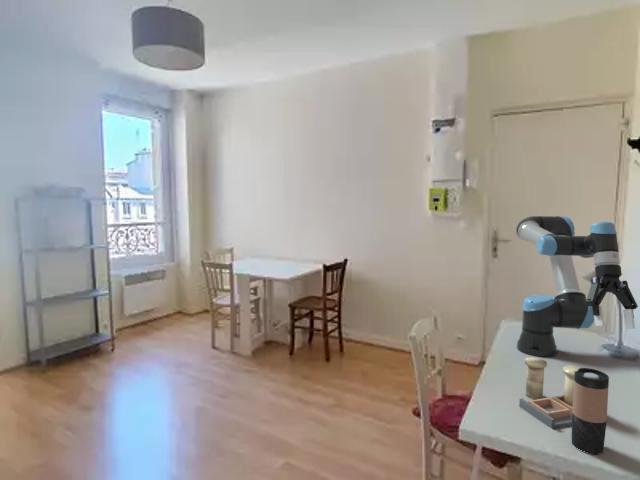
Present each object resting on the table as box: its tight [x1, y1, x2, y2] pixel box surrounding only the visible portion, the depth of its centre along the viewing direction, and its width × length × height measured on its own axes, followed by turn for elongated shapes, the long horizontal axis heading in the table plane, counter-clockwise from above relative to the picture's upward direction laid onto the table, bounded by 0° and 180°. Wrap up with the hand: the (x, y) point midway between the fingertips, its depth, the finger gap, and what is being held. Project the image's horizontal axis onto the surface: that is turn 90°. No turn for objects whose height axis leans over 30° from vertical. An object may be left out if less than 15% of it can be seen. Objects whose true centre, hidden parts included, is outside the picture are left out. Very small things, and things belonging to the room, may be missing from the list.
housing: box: [518, 365, 581, 429], centre depth 127 cm, size 13×19×13 cm
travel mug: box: [571, 367, 610, 455], centre depth 110 cm, size 8×8×20 cm
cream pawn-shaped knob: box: [524, 357, 548, 400], centre depth 138 cm, size 6×6×12 cm
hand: (615, 327), depth 142 cm, fingers open, 13 cm apart
